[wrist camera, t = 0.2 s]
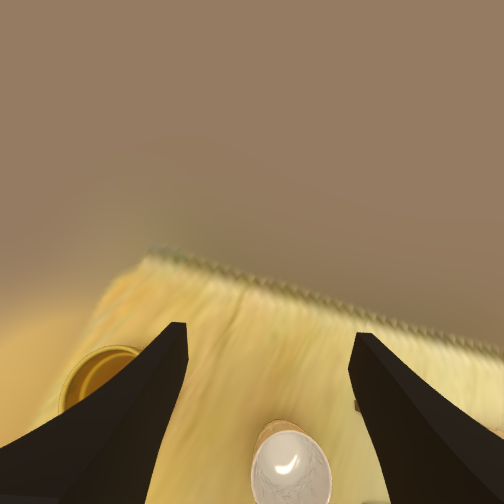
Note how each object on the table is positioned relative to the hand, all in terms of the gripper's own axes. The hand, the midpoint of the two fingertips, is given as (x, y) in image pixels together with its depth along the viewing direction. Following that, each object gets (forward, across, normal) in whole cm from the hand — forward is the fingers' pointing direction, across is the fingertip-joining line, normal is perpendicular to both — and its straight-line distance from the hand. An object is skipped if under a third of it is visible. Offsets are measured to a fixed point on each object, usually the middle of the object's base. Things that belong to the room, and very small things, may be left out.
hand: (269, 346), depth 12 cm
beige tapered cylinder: (+14, -4, +30) cm, 33 cm away
